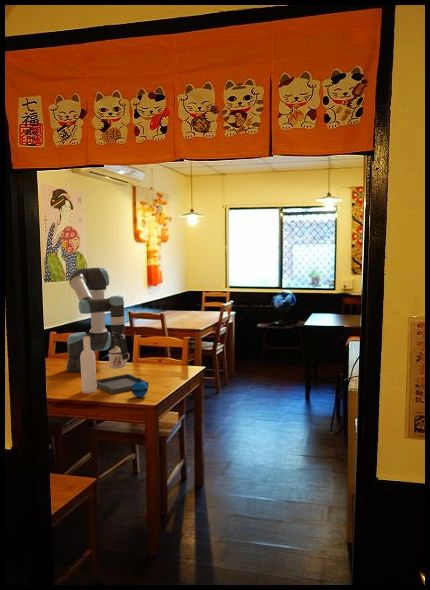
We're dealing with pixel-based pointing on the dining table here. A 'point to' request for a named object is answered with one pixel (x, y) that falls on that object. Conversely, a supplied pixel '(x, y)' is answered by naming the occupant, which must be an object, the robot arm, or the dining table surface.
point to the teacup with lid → (116, 358)
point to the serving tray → (118, 383)
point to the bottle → (88, 367)
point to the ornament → (139, 388)
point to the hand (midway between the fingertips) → (119, 363)
